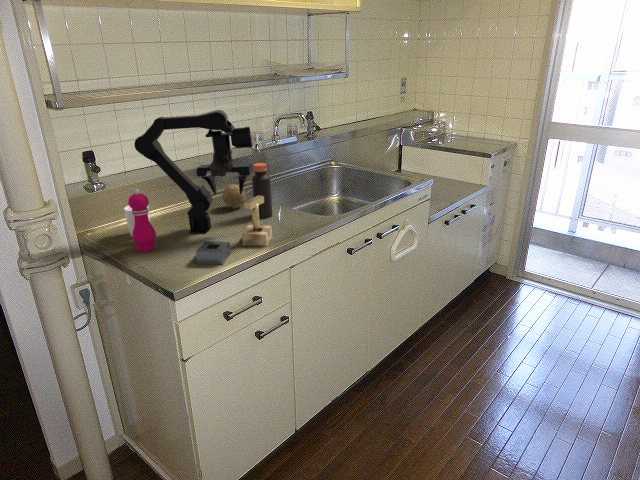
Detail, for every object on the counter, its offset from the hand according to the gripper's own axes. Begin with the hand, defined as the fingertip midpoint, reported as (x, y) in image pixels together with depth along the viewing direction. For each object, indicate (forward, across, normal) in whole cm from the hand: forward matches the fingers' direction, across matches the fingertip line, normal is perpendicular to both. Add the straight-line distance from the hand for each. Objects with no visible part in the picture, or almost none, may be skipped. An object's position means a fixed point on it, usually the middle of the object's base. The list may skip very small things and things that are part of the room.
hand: (228, 194), depth 163 cm
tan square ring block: (+13, +12, -10) cm, 21 cm away
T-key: (+13, +12, -10) cm, 20 cm away
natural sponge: (+13, -6, +23) cm, 27 cm away
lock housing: (+13, +2, -25) cm, 28 cm away
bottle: (+14, +8, +15) cm, 22 cm away
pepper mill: (+12, -23, -19) cm, 33 cm away
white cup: (+12, -31, -7) cm, 34 cm away
